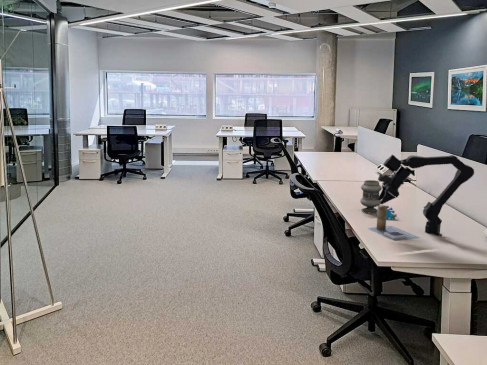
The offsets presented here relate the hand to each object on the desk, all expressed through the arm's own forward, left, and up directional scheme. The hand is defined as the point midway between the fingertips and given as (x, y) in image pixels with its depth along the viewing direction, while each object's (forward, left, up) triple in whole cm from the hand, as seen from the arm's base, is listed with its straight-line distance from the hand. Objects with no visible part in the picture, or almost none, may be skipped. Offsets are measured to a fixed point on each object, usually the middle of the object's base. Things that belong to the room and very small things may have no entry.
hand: (379, 201), depth 243 cm
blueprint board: (-3, +8, -15) cm, 17 cm away
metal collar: (0, +14, -14) cm, 20 cm away
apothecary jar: (-21, -38, -15) cm, 46 cm away
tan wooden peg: (-1, +1, -14) cm, 14 cm away
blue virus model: (-17, -17, -16) cm, 29 cm away
